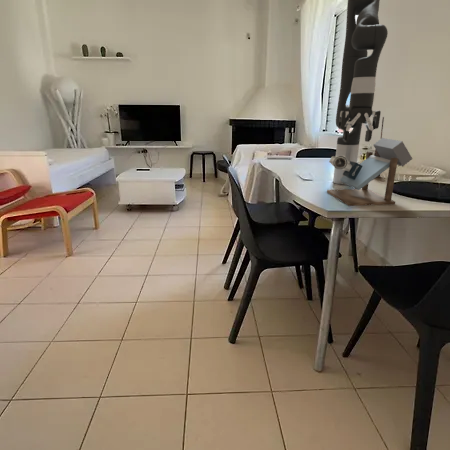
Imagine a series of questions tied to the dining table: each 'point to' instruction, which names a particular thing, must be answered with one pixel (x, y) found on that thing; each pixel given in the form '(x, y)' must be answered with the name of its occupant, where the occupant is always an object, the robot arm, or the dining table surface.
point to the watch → (346, 166)
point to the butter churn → (381, 137)
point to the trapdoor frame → (368, 191)
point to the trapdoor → (379, 162)
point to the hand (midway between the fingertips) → (356, 141)
